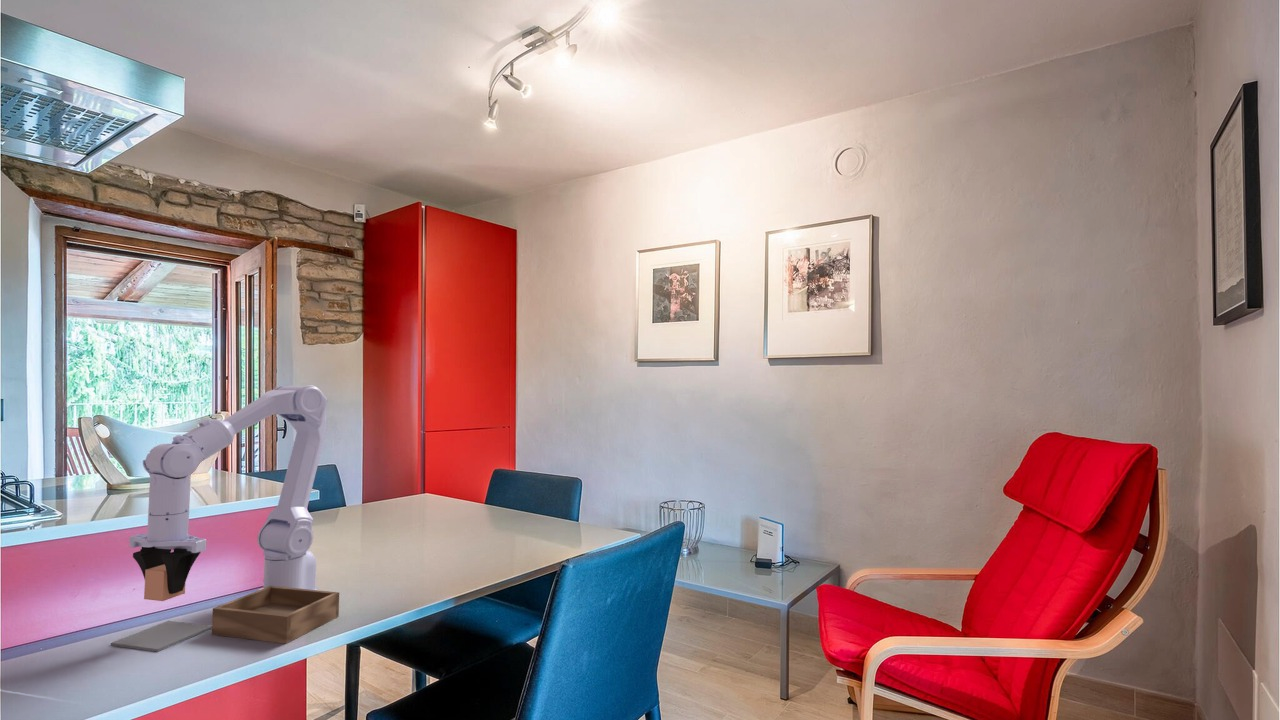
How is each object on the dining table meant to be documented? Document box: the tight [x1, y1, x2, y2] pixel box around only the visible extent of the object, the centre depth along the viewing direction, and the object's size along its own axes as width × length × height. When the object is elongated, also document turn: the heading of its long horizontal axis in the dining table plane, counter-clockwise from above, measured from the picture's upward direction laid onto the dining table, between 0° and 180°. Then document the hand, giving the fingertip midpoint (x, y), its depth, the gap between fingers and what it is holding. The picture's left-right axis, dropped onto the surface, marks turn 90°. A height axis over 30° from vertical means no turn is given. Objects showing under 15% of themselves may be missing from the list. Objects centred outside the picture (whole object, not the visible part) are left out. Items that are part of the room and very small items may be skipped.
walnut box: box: [211, 586, 340, 644], centre depth 111 cm, size 13×16×4 cm
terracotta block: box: [143, 564, 186, 602], centre depth 106 cm, size 4×4×5 cm
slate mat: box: [110, 620, 212, 653], centre depth 106 cm, size 10×10×1 cm
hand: (165, 590), depth 106 cm, fingers closed on terracotta block, 4 cm apart
